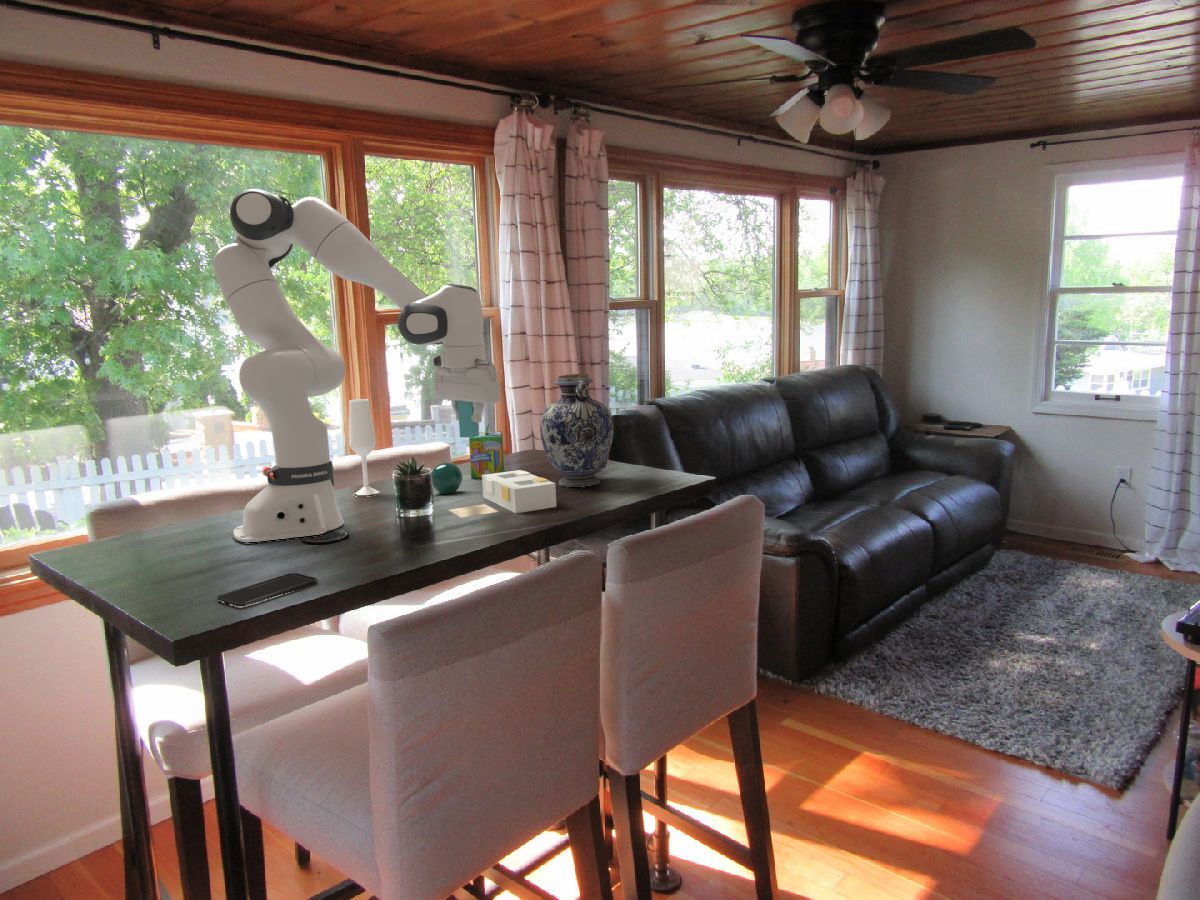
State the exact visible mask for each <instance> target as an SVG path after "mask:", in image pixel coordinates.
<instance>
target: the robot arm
mask: <svg viewBox="0 0 1200 900" xmlns="http://www.w3.org/2000/svg"><path fill="white" fill-rule="evenodd" d="M229 219H230V222H231V225H232V227H233V229H234V231H235V233H236V237H235V239H234V240H233V241H232V242H231V244H227V245H225V246H223V247H222V248H220V249H219V250H218V251H217V252H216V253H215V255H214V257H213V260H212V265H213V266H212V267H213V270H214V274H215V278H216V280H217V283H218V285H219V286H218V287H219V288H220V290H221V293H222V295H223V297H224V299H225V301H226V303H227V306H228V307H229V310H230V311H231V313H232V314H233V317H234V319H235V320H236V322H237V324H238V327H239V328H240V330H241V332H242V334H243V336H245V337H246V338H247V339H248V340H249V341H251V342H254V343H255V344H257V345H259V346H261V348H263V349H264V350H263V351H260V352H256V353H255V354H252V355H250V356H248V357H246V358H245V359H244V361H242V363H241V365H240V368H239V374H238V375H239V377H238V379H239V383H240V386H241V388H242V390H243V392H244V394H245V395H246V396H247V397H248V398H249V399H251V400H253V401H254V402H255V403H256V404H257V405H258V406H259V407H260V409H261V410H262V412H263V413H264V415H265V417H266V419H267V421H268V424H269V426H270V431H271V433H272V441H273V449H274V455H275V465H274V466H273V467H271V466H269V465H268V466H267V465H266V466H264V467H263V469H262V474H263V475H264V477H266V478H267V483H268V484H267V485H266V486H265V487H264V488H263V489H262V490H261V491H259V492H258V493H257V494H256V495H255V496H254V497H253V498H251V499H250V500H249V501H248V502H247V503H246V505H245V506H244V510H243V516H242V525H239V526H237V527H236V528H234V530H232V531H233V532H232V535H234V537H235V538H236V539H237V540H239V541H243V542H258V541H266V540H273V539H282V538H293V537H302V536H310V535H319V534H323V533H325V532H326V533H327V531H328V532H330V531H333V530H336V529H338V528H340V527H342V526H343V525H344V519H343V517H342V515H341V512H340V509H339V505H338V502H337V501H338V500H337V498H336V493H335V487H334V486H335V481H336V480H335V471H334V465H333V461H332V460H331V457H330V456H331V455H330V446H329V445H330V444H329V443H330V442H329V431H328V427H327V425H326V424H325V423H324V421H322V420H321V419H320V418H317V417H316V415H315V414H314V412H313V409H312V408H311V406H310V402H309V398H313V397H319V396H323V395H325V394H328V393H330V392H333V391H334V390H336V389H338V388H339V387H340V386H341V385H342V383H343V382H344V380H345V377H346V365H345V362H344V359H343V357H342V355H340V353H339V352H338V351H337V350H335V349H333V348H331V347H329V346H327V345H326V344H324V343H323V342H321V341H320V340H319V338H317V337H316V336H315V335H314V334H313V333H312V332H311V331H310V330H309V329H308V327H307V326H305V325H304V323H303V322H302V321H301V320H300V319H299V317H298V316H297V314H295V312H294V311H293V309H292V307H291V305H290V304H289V303H290V302H288V300H287V298H286V296H285V294H284V293H283V291H282V289H281V287H280V286H279V284H278V281H277V280H276V278H275V276H274V274H273V272H272V270H271V268H273V267H274V266H275V265H276V264H277V263H279V262H281V261H283V260H284V259H286V258H287V257H288V256H289V254H290V253H291V251H292V249H293V245H296V246H299V247H301V248H303V249H304V251H305V250H306V252H308V254H310V255H311V256H312V257H313V258H314V259H315V260H316V261H318V262H319V264H321V265H322V266H323V267H324V268H326V269H327V270H329V271H330V272H331V273H333V274H334V275H335V276H338V277H339V278H340V279H343V280H346V281H351V282H354V283H357V284H361V285H365V286H367V287H370V288H371V289H374V290H376V291H377V292H379V293H380V294H383V296H385V297H386V299H388V300H389V301H391V302H392V303H393V304H394V305H396V306H397V307H398V308H399V309H400V313H399V315H398V318H397V327H398V330H399V333H400V335H401V336H402V337H403V339H404V340H405V341H407V342H409V343H410V344H412V345H417V346H428V345H429V346H431V345H443V351H442V352H440V353H439V354H436V355H435V356H433V357H432V358H431V366H432V367H433V368H434V369H433V373H432V376H433V380H432V381H433V390H434V391H433V392H434V394H435V396H436V398H437V399H438V400H445V401H451V407H452V410H453V411H454V413H455V420H456V421H458V422H459V412H458V401H465V402H473V407H475V409H474V413H473V414H472V415H471V418H472V419H471V421H472V422H474V423H478V424H479V423H482V420H483V419H482V414H483V412H484V410H485V404H486V405H489V404H496V403H499V402H500V401H501V398H502V392H501V384H500V379H499V374H498V371H497V367H496V365H494V363H493V362H492V360H490V359H486V349H485V346H486V345H485V340H484V337H483V328H484V316H483V309H482V308H483V306H482V299H481V296H480V294H479V291H478V290H477V289H475V288H474V287H472V286H470V285H463V284H456V283H446V284H443V285H442V287H441V288H440V289H439V290H437V291H435V292H434V293H432V294H430V295H428V294H427V293H425V292H424V291H423V290H422V289H421V288H419V287H418V286H417V285H416V284H414V283H413V282H412V281H411V280H410V279H408V278H407V277H406V276H405V275H404V274H402V272H400V271H399V270H398V269H397V268H396V267H395V266H394V265H392V264H391V262H389V260H388V259H387V258H386V257H385V256H384V255H383V254H382V253H381V252H380V251H379V250H378V248H377V247H375V245H374V244H373V243H372V242H371V241H370V240H369V239H368V238H367V236H365V235H364V233H363V232H361V230H359V229H358V227H357V226H355V224H353V222H351V221H350V220H349V219H348V218H346V217H345V216H344V215H343V214H342V213H340V212H339V211H338V210H337V209H335V208H334V207H333V206H331V205H329V204H328V203H327V202H324V200H321V199H320V198H317V197H315V196H307V197H304V198H301V199H300V200H298V201H297V202H295V203H294V204H293V205H292V204H291V202H290V200H289V199H288V198H286V197H284V196H281V195H276V194H273V193H271V192H269V191H266V190H263V189H258V188H247V189H244V190H242V191H240V192H238V193H237V194H236V195H235V197H233V199H232V201H231V204H230V206H229ZM329 530H330V531H329ZM326 533H325V534H326ZM323 535H324V534H323ZM234 537H233V538H234ZM258 543H259V542H258Z"/></svg>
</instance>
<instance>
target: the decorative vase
mask: <svg viewBox="0 0 1200 900" xmlns="http://www.w3.org/2000/svg"><path fill="white" fill-rule="evenodd" d="M593 382H594V380H593V379H592V378H590V376H589V374H584V373H574V374H573V373H572V374H569V373H568V374H564V375H563V374H562V375H559V376H558V377H557V380H555V381H554V385H556V386H557V385H558V387H559V390H560V393H559V395H560V398H559V399H558V401H556V402H553V403H551V404H549V405H548V406H547V407H546V408H545V409H544V411H543V413H542V415H541V418H540V427H539V428H540V438H541V443H542V446H543V449H544V452H545V455H546V456H547V459H548V460H549V462H550V465H552V467H553V468H554V470H556V471H557V472H558V473H559V474H561V475H562V476H563V477H562V478H560V479H559V481H558V486H560V485H561V486H560V487H562V486H565V487H564V488H569V487H582V488H586V487H585V486H590V487H592V486H591V485H595V486H597V485H599V484H600V482H601V481H600V479H599V477H598V476H595V474H598V473H600V472H602V470H603V469H606V468H607V464H608V460H609V459H610V458H609V457H610V455H609V453H610V452H611V448H612V445H613V444H612V443H613V439H614V423H613V421H614V420H613V417H612V414H611V411H610V409H609V408H608V406H607V405H605V404H604V403H602V402H601V401H599V400H597V399H593V398H591V396H590V391H589V384H590V383H591V384H592V383H593ZM598 483H599V484H598ZM596 484H597V485H596Z"/></svg>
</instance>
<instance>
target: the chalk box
mask: <svg viewBox="0 0 1200 900" xmlns="http://www.w3.org/2000/svg"><path fill="white" fill-rule="evenodd" d="M489 425H490V421H487V424H486V429H485V431H479V435H478V436H476V437H468V440H469V441H468V443H469V445H468V446H469V447H468V448H469V459H470V479H471V480H474V479H482V475H487V474H494V473H501V472H505V462H504V445H503V444H504V441H503V440H504V439H503V432H502V431H489V430H488V429H489Z"/></svg>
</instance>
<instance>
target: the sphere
mask: <svg viewBox="0 0 1200 900" xmlns="http://www.w3.org/2000/svg"><path fill="white" fill-rule="evenodd" d="M430 476H431V478H432V485H431V486H432V488H433V489H434V490H435V491H436V492H438V493H440V494H442V495H450V494H453V493H455V492H457V491H458V490H459V489H460V488H461V486H462V483H463V473H462V471H461V469H460V467H459V466H458V465H456V464H455V463H453V462H451V461H450V462H449V461H444V462H440V463H438V464H437V465H435V466H434V467H433V468H432V470H431V472H430Z"/></svg>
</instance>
